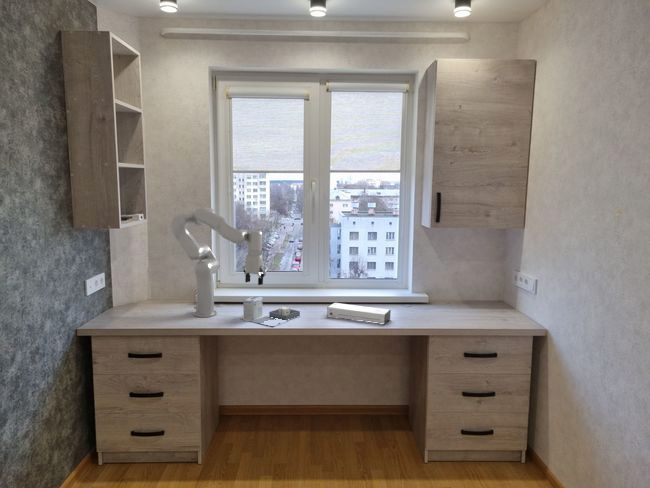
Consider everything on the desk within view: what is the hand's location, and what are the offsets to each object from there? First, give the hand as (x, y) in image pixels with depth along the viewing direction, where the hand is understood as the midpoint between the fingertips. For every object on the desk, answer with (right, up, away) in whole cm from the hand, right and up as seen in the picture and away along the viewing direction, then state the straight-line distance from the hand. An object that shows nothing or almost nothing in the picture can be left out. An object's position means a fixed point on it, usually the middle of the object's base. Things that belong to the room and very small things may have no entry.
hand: (254, 283), depth 244 cm
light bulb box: (-1, -19, +2) cm, 20 cm away
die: (+16, -19, +6) cm, 26 cm away
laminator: (+58, -21, +5) cm, 62 cm away
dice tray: (+16, -20, +6) cm, 26 cm away
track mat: (+6, -20, -3) cm, 21 cm away
